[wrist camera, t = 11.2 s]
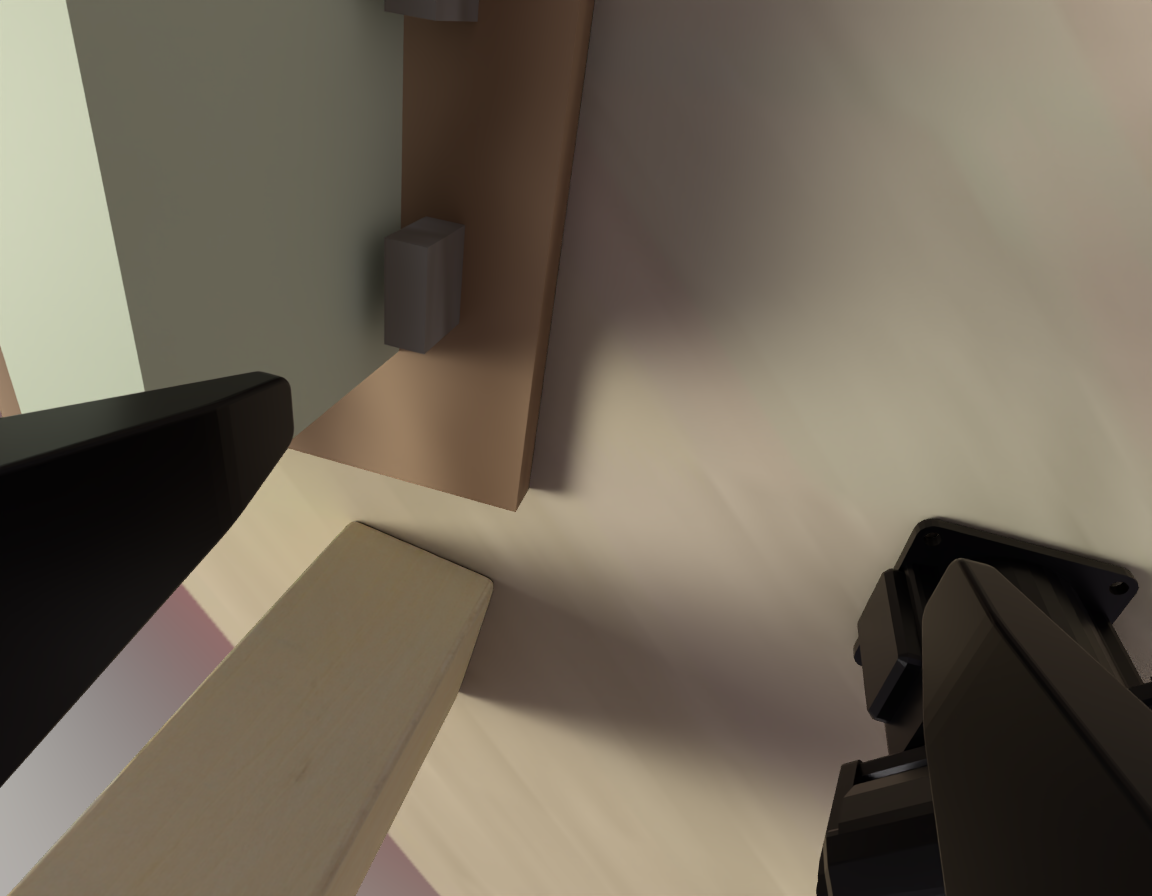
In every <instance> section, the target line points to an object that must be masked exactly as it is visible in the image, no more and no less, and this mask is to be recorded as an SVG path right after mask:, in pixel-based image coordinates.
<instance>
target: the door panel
mask: <svg viewBox="0 0 1152 896" xmlns="http://www.w3.org/2000/svg"><path fill="white" fill-rule="evenodd" d="M403 41H404V15H402V14H396V13H391V12H385V11H384V0H0V346H1V350H2V353H3V356H4V359H5V362H6V366H7V369H8V372H9V375H10V378H11V381H12V385H13V388H14V391H15V394H16V397H17V401H18V404H19V407H20V410H21V413H22V414H24V413H29V412H35V411H40V410H46V409H51V408H57V407H62V406H68V405H73V404H79V403H84V402H90V401H95V400H101V399H106V398H112V397H117V396H123V395H128V394H134V393H139V392H145V391H150V390H156V389H161V388H167V387H172V386H178V385H183V384H189V383H194V382H200V381H205V380H211V379H216V378H222V377H227V376H233V375H238V374H244V373H249V372H255V371H262V372H266V373H270V374H274V375H277V376H281V377H284V378H285V379H286V380H287V381H288V382H289V384H290V386H291V393H292V406H293V418H294V435H293V438H294V437H295V436H297V435H298V434H299V433H300V432H301V431H303V430H304V429H305V428H306V427H308V426H309V425H310V424H311V423H312V422H314V421H315V420H316V419H317V418H318V417H320V416H321V415H322V414H323V413H325V412H326V411H327V410H328V409H329V408H331V407H332V406H333V405H334V404H335V403H337V402H338V401H339V400H340V399H341V398H343V397H344V396H345V395H346V394H348V393H349V392H350V391H351V390H352V389H354V388H355V387H356V386H357V385H358V384H360V383H361V382H362V381H363V380H365V379H366V378H367V377H368V376H369V375H371V374H372V373H373V372H374V371H375V370H377V369H378V368H379V367H380V366H382V365H383V364H384V363H385V362H386V361H388V360H389V359H390V358H391V357H392V356H394V355H395V354H396V353H397V352H398V351H399V348H397V347H393V346H389V345H385V344H384V238H385V237H386V236H388V235H390V234H392V233H394V232H396V231H398V230H400V229H401V180H402V111H403Z"/></svg>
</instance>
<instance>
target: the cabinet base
mask: <svg viewBox="0 0 1152 896" xmlns="http://www.w3.org/2000/svg"><path fill="white" fill-rule="evenodd" d="M594 1H595V0H384V11H385V12H391V13H396V14H402V15H404V41H403V111H402V180H401V229H400V230H398V231H396V232H394V233H392V234H390V235H388V236H386V237H385V238H384V344H385V345H389V346H393V347H397V348H399V351H398V352H397V353H396V354H395V355H394V356H392V357H391V358H390V359H389V360H388V361H386V362H385V363H384V364H383V365H382V366H380V367H379V368H378V369H377V370H375V371H374V372H373V373H372V374H371V375H369V376H368V377H367V378H366V379H365V380H363V381H362V382H361V383H360V384H358V385H357V386H356V387H355V388H354V389H352V390H351V391H350V392H349V393H348V394H346V395H345V396H344V397H343V398H341V399H340V400H339V401H338V402H337V403H335V404H334V405H333V406H332V407H331V408H329V409H328V410H327V411H326V412H325V413H323V414H322V415H321V416H320V417H318V418H317V419H316V420H315V421H314V422H312V423H311V424H310V425H309V426H308V427H306V428H305V429H304V430H303V431H301V432H300V433H299V434H298V435H297V436H295V437H294V438H293V439H292V441H291V444H290V445H289V447H288V448H289V449H293V450H297V451H300V452H304V453H307V454H311V455H314V456H318V457H321V458H325V459H329V460H332V461H336V462H339V463H343V464H346V465H350V466H353V467H357V468H361V469H364V470H368V471H371V472H375V473H378V474H382V475H385V476H389V477H393V478H396V479H400V480H403V481H407V482H410V483H414V484H417V485H421V486H425V487H428V488H432V489H435V490H439V491H442V492H446V493H450V494H453V495H457V496H460V497H464V498H467V499H471V500H474V501H478V502H482V503H485V504H489V505H492V506H496V507H499V508H503V509H506V510H510V511H514V512H516V510H517V509H518V507H519V505H520V503H521V502H522V500H523V498H524V496H525V494H526V493H527V491H528V489H529V483H530V475H531V468H532V460H533V453H534V446H535V438H536V431H537V423H538V416H539V409H540V401H541V394H542V386H543V379H544V372H545V364H546V357H547V349H548V342H549V335H550V327H551V320H552V312H553V305H554V298H555V290H556V283H557V275H558V268H559V261H560V253H561V246H562V238H563V231H564V224H565V216H566V209H567V201H568V194H569V187H570V179H571V172H572V164H573V157H574V150H575V142H576V135H577V127H578V120H579V113H580V105H581V98H582V90H583V83H584V76H585V68H586V61H587V53H588V46H589V38H590V31H591V24H592V16H593V9H594ZM0 411H1V414H2V417H7V416H13V415H18V414H22V413H21V410H20V407H19V404H18V401H17V397H16V394H15V391H14V388H13V385H12V381H11V378H10V375H9V372H8V369H7V366H6V362H5V359H4V356H3V353H2V350H1V346H0Z"/></svg>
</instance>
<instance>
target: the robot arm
mask: <svg viewBox="0 0 1152 896" xmlns="http://www.w3.org/2000/svg"><path fill="white" fill-rule="evenodd" d="M293 435H294V418H293V406H292V393H291V386H290V384H289V382H288V381H287V380H286V379H285V378H284V377H281V376H277V375H274V374H270V373H266V372H262V371H255V372H249V373H244V374H238V375H233V376H227V377H222V378H216V379H211V380H205V381H200V382H194V383H189V384H183V385H178V386H172V387H167V388H161V389H156V390H150V391H145V392H139V393H134V394H128V395H123V396H117V397H112V398H106V399H101V400H95V401H90V402H84V403H79V404H73V405H68V406H62V407H57V408H51V409H46V410H40V411H35V412H29V413H24V414H18V415H13V416H7V417H2V418H0V788H1V786H2V785H3V784H4V783H5V782H6V781H7V780H8V778H9V777H10V776H11V775H12V774H13V773H14V772H15V771H16V769H17V768H18V767H19V766H20V765H21V764H22V763H23V762H24V760H25V759H26V758H27V757H28V756H29V755H30V754H31V753H32V751H33V750H34V749H35V748H36V747H37V746H38V745H39V744H40V742H41V741H42V740H43V739H44V738H45V737H46V736H47V735H48V733H49V732H50V731H51V730H52V729H53V728H54V726H56V724H57V723H58V722H59V721H60V720H61V719H62V718H63V716H64V715H65V714H66V713H67V712H68V711H69V710H70V709H71V707H72V706H73V705H74V704H75V703H76V702H77V701H78V700H79V698H80V697H81V696H82V695H83V694H84V693H85V692H86V691H87V689H88V688H89V687H90V686H91V685H92V684H93V682H94V681H95V680H96V679H97V678H98V677H99V676H100V675H101V674H102V672H103V671H104V670H105V669H106V668H107V667H108V666H109V664H110V663H111V662H112V661H113V660H114V659H115V658H116V657H117V656H118V654H119V653H120V652H121V651H122V650H123V649H124V648H125V646H126V645H127V644H128V643H129V642H130V641H131V640H132V639H133V637H134V636H135V635H136V634H137V633H138V632H139V631H140V630H141V629H142V627H143V626H144V625H145V624H146V623H147V622H148V621H149V619H150V618H151V617H152V616H153V615H154V613H156V611H157V610H158V609H159V608H160V607H161V606H162V605H163V604H164V603H165V601H166V600H167V599H168V598H169V597H170V596H171V595H172V594H173V592H174V591H175V590H176V589H177V588H178V587H179V586H180V585H181V583H182V582H183V581H184V580H185V579H186V578H187V577H188V576H189V574H190V573H191V572H192V571H193V570H194V569H195V568H196V566H197V565H198V564H199V563H200V562H201V561H202V560H203V559H204V557H205V556H206V555H207V554H208V553H209V552H210V551H211V550H212V548H213V547H214V546H215V545H216V544H217V543H218V542H219V541H220V539H221V538H222V537H223V536H224V535H225V534H226V532H227V531H228V530H229V529H230V528H231V526H232V525H233V524H234V523H235V521H236V520H237V519H238V517H239V516H240V515H241V513H242V512H243V511H244V509H245V508H246V507H247V505H248V504H249V502H250V501H251V499H252V498H253V497H254V495H255V494H256V492H257V491H258V490H259V488H260V487H261V485H262V484H263V482H264V481H265V480H266V478H267V477H268V475H269V474H270V473H271V471H272V470H273V468H274V467H275V466H276V464H277V463H278V461H279V460H280V458H281V457H282V456H283V454H284V453H285V451H286V450H287V449H288V447H289V445H290V444H291V441H292V439H293ZM929 533H937V534H938V535H937V536H936V537H934V538H926V537H925V536H926V535H927V534H929ZM1116 582H1122V583H1121V584H1120V585H1117V586H1110V585H1112V584H1113V583H1116ZM1138 588H1139V587H1138V582H1137V581H1136V579H1135V578H1134V576H1133V575H1132V573H1131V572H1130V571H1129V570H1127V569H1124V568H1122V567H1118V566H1114V565H1110V564H1106V563H1103V562H1099V561H1095V560H1091V559H1087V558H1083V557H1080V556H1076V555H1072V554H1068V553H1064V552H1060V551H1056V550H1053V549H1049V548H1045V547H1041V546H1037V545H1033V544H1030V543H1026V542H1022V541H1018V540H1014V539H1010V538H1006V537H1003V536H999V535H995V534H991V533H987V532H983V531H980V530H976V529H972V528H968V527H964V526H960V525H956V524H953V523H949V522H945V521H941V520H937V519H927V520H923V521H921V522H919V523H918V524H917V525H916V526H915V528H914V529H913V531H912V533H911V535H910V537H909V539H908V541H907V543H906V545H905V547H904V549H903V551H902V553H901V555H900V557H899V559H898V561H897V563H896V565H895V567H894V568H893V569H892V568H891V569H888V570H887V571H885V572H883V573H882V575H881V577H880V579H879V581H878V583H877V585H876V587H875V589H874V591H873V593H872V595H871V597H870V599H869V601H868V603H867V605H866V607H865V609H864V611H863V613H862V615H861V617H860V619H859V621H858V634H859V637H858V639H857V641H856V643H855V645H854V648H853V653H854V659H855V662H856V663H857V664H858V665H860V666H862V669H863V678H864V687H865V695H866V704H867V711H868V712H869V714H870V716H871V717H872V719H874V720H877V721H881V722H884V724H885V731H886V738H887V746H888V753H889V755H888V756H884V757H881V758H877V759H874V760H870V761H867V762H862V761H861V760H856V761H853V762H849V763H846V764H842V766H841V770H840V774H839V778H838V783H837V787H836V791H835V796H834V800H833V804H832V809H831V813H830V818H829V822H828V826H827V831H826V835H825V839H824V843H823V848H822V852H821V857H820V861H819V870H818V883H817V888H816V894H817V896H1152V682H1148V683H1145V684H1144V683H1143V681H1142V679H1141V678H1140V676H1139V674H1138V672H1137V670H1136V668H1135V666H1134V665H1133V663H1132V661H1131V659H1130V657H1129V655H1128V653H1127V652H1126V650H1125V648H1124V646H1123V644H1122V642H1121V641H1120V639H1119V637H1118V635H1117V633H1116V631H1115V629H1114V628H1113V626H1112V624H1113V623H1114V621H1115V620H1116V619H1117V617H1118V616H1119V615H1120V614H1121V612H1122V611H1123V610H1124V608H1125V607H1126V606H1127V605H1128V603H1129V602H1130V601H1131V599H1132V598H1133V597H1134V596H1135V594H1136V593H1137V591H1138ZM1150 678H1151V681H1152V677H1150Z"/></svg>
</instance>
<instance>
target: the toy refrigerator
mask: <svg viewBox="0 0 1152 896" xmlns="http://www.w3.org/2000/svg"><path fill="white" fill-rule="evenodd" d="M492 592H493V582H492V581H491V580H490V579H488V578H486V577H485V576H482V575H480V574H478V573H475V572H473V571H471V570H468V569H466V568H463V567H461V566H459V565H456V564H454V563H452V562H450V561H448V560H445V559H443V558H440V557H437V556H435V555H433V554H431V553H429V552H427V551H425V550H422V549H420V548H417V547H415V546H413V545H410V544H408V543H406V542H403V541H400V540H398V539H396V538H394V537H392V536H389V535H387V534H385V533H382V532H380V531H378V530H375V529H373V528H371V527H368V526H366V525H363V524H361V523H358V522H351V523H350V524H348V525H347V526H346V527H345V528H344V529H343V530H342V531H341V532H340V533H339V534H338V535H337V536H336V538H335V539H334V540H333V541H332V542H331V543H330V544H329V545H328V546H327V547H326V548H325V549H324V551H323V552H322V553H321V554H320V555H319V556H318V557H317V558H316V559H315V560H314V561H313V563H312V564H311V565H310V566H309V567H308V568H307V569H306V570H305V571H304V572H303V573H302V575H301V576H300V577H299V578H298V579H297V580H296V581H295V582H294V583H293V584H292V585H291V586H290V588H289V589H288V590H287V591H286V592H285V593H284V594H283V595H282V596H281V597H280V598H279V600H278V601H277V602H276V603H275V604H274V605H273V606H272V607H271V608H270V609H269V610H268V611H267V612H266V613H265V615H264V616H263V617H262V618H261V619H260V620H259V621H258V622H257V623H256V625H255V626H254V627H253V628H252V629H251V630H250V631H249V632H248V633H247V634H246V636H245V637H244V638H243V639H242V640H241V641H240V642H239V643H238V644H237V645H236V646H235V648H234V649H233V650H232V651H231V652H230V653H229V654H228V655H227V656H226V657H225V658H224V660H223V661H222V662H221V663H220V664H219V665H218V666H217V667H216V668H215V669H214V670H213V672H212V673H211V674H210V675H209V676H208V677H207V678H206V679H205V680H204V681H203V683H202V684H201V685H200V686H199V687H198V688H197V689H196V690H195V691H194V692H193V694H192V695H191V696H190V697H189V698H188V699H187V700H186V701H185V702H184V703H183V704H182V706H181V707H180V708H179V709H178V710H177V711H176V712H175V713H174V715H172V717H171V718H170V719H169V720H168V721H167V722H166V723H165V724H164V725H163V726H162V728H161V729H160V730H159V731H158V732H157V733H156V734H155V735H154V736H153V737H152V738H151V739H150V741H149V742H148V743H147V744H146V745H145V746H144V747H143V748H142V750H140V751H139V753H138V754H137V755H136V756H135V757H134V758H133V759H132V760H131V761H130V762H129V764H128V765H127V766H126V767H125V768H124V769H123V770H122V771H121V772H120V773H119V774H118V776H117V777H116V778H115V779H114V780H113V781H112V782H111V783H110V784H109V785H108V786H107V788H106V789H105V790H104V791H103V792H102V793H101V794H100V795H99V796H98V797H97V798H96V800H95V801H94V802H93V803H92V804H91V805H90V806H89V807H88V808H87V810H85V812H84V813H83V814H82V815H81V816H80V817H79V818H78V819H77V820H76V821H75V822H74V823H73V824H72V825H71V827H70V828H69V829H68V830H67V831H66V832H65V833H64V834H63V835H62V836H61V837H60V838H59V840H58V841H57V842H56V843H55V844H54V845H53V846H52V847H51V848H50V849H49V850H48V851H47V853H46V854H45V855H44V856H43V857H42V858H41V859H40V860H39V861H38V863H37V864H36V865H35V866H34V867H33V868H32V869H31V870H30V871H29V872H28V873H27V874H26V876H25V877H24V878H23V879H22V880H21V881H20V882H19V883H18V884H17V886H16V887H15V888H14V889H13V890H12V891H11V892H10V893H9V894H8V895H7V896H355V895H356V894H357V892H358V889H359V888H360V885H361V883H362V882H363V880H364V878H365V876H366V874H367V872H368V870H369V868H370V866H371V864H372V862H373V860H374V858H375V856H376V854H377V852H378V850H379V848H380V846H381V844H382V842H383V840H384V838H385V836H386V834H387V832H388V831H389V829H390V827H391V825H392V823H393V821H394V819H395V817H396V815H397V813H398V811H399V809H400V807H401V805H402V803H403V801H404V799H405V797H406V795H407V793H408V791H409V789H410V787H411V785H412V783H413V781H414V779H415V777H416V775H417V773H418V771H419V769H420V767H421V765H422V763H423V762H424V760H425V758H426V756H427V754H428V752H429V750H430V748H431V746H432V744H433V742H434V740H435V738H436V736H437V734H438V732H439V730H440V728H441V726H442V724H443V722H444V720H445V718H446V716H447V715H448V713H449V711H450V709H451V707H452V705H453V703H454V701H455V699H456V696H457V694H458V692H459V689H460V687H461V684H462V681H463V678H464V675H465V672H466V669H467V667H468V664H469V661H470V658H471V655H472V652H473V649H474V646H475V643H476V640H477V637H478V634H479V631H480V628H481V625H482V622H483V619H484V616H485V613H486V610H487V607H488V604H489V601H490V598H491V595H492Z"/></svg>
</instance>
